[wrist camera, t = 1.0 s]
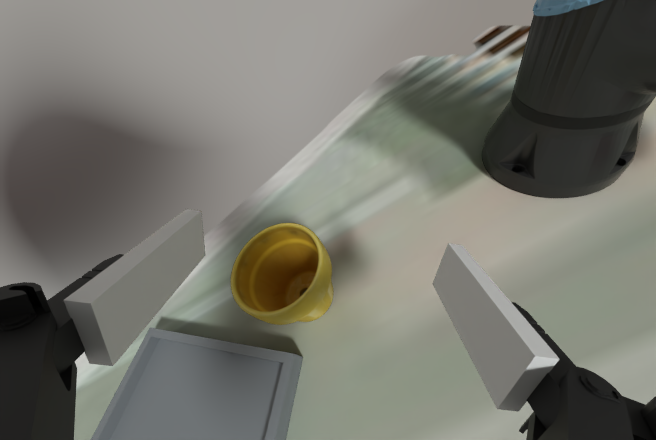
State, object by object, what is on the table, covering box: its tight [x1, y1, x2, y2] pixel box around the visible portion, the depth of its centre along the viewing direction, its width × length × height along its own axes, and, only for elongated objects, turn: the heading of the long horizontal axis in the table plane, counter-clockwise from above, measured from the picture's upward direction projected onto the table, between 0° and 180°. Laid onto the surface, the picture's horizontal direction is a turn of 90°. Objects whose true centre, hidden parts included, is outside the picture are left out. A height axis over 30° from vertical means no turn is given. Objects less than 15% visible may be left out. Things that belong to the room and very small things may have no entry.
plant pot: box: [231, 223, 333, 325], centre depth 30 cm, size 10×10×10 cm
